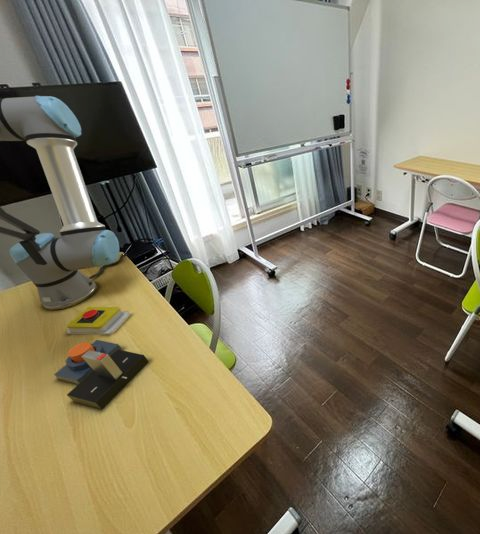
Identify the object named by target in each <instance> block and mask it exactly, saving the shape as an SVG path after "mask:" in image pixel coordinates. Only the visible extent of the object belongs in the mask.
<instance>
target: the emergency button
mask: <svg viewBox="0 0 480 534" xmlns="http://www.w3.org/2000/svg"><path fill="white" fill-rule="evenodd" d="M130 316H131V313H130V312H129V311H123V310H122V309H121V308H120V307H119V306H88V307H87V308H85V309H84V310H83V311H81V312H80V313H79V314H78V315H77V316H76V317H75V318H73V319H72V320H71V321H70V322H69V323H67V324H66V328H67V330H66V333H67V334H68V335H100V336H103V335H105V336H107V335H108V336H109V335H112V334H114V333H115V332H117V330H118V329H119V328H120V327H121V326H122V325H123V324H124V323H125V322H126V321H127V319H128V318H129V317H130Z"/></svg>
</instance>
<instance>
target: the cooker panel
mask: <svg viewBox="0 0 480 534" xmlns="http://www.w3.org/2000/svg"><path fill="white" fill-rule="evenodd" d="M110 358H111V359H112V360H113V361H114V363H115V364H116V365H117V366H118V368H119V369H120V370H121V371H122V373H123V374H122V375H121V376H120V377H119V378H118V379H117V380H114V379H111V378H107V377H103V376H99V375H97V374H96V372H95V371H93V372H92V373H91V374H90V375H88V376H87V377H86V378H85V379H84V380H83V381H82V382H81V383H79V384H76V386H75V387H74V388H72V390H70V391H69V392H68V393H67V394H66V396H67V397H68V398H69V399H70V400H71V401H72V402H74V403H77V404H81V405H84V406H87V407H88V406H89V407H92V408H96V409H99V410H104V408H106V407H107V405H108V404H109V403H110V402H111V401H112V400H113V399H114V398H115V397H116V396H117V395H118V394H119V393H120V392H121V391H122V390H123V389H124V388H125V387H126V386H127V385H128V384H129V383H130V382H131V381H132V380H133V379H134V377H136V376H137V375H138V374H139V372H141V371H142V370H143V368H145V366H147V364H148V363H149V360H148V358H147V357H146V355H145V354H141V353H136V352H132V351H127V350H117V351H115V352H114V353H113V354H112V355H111V356H110Z"/></svg>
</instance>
